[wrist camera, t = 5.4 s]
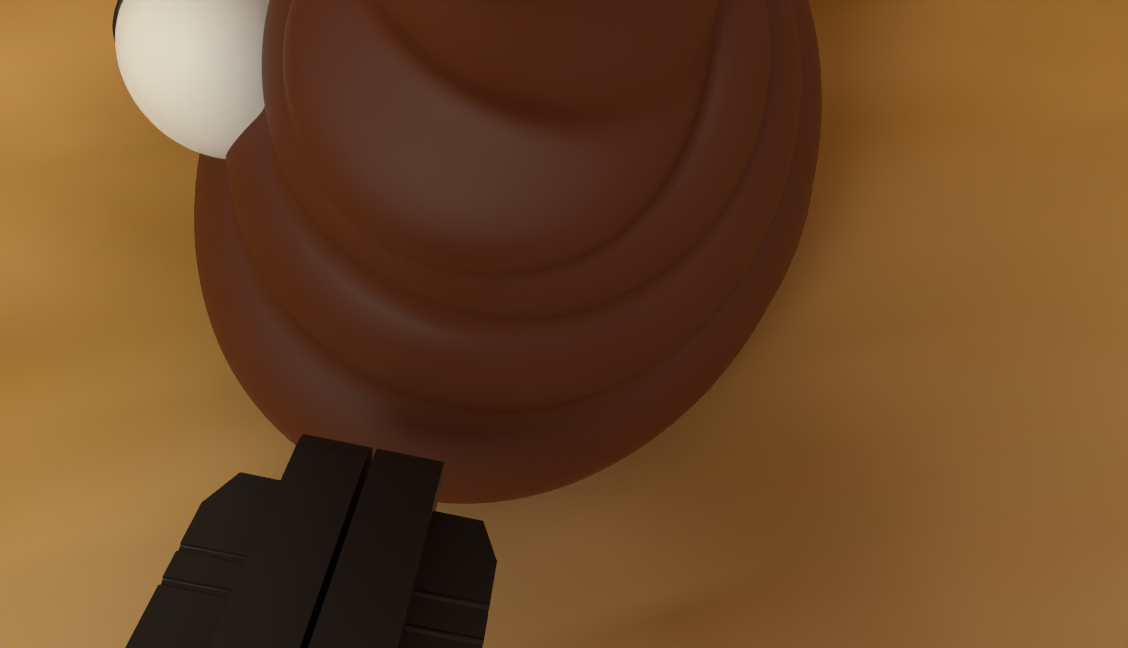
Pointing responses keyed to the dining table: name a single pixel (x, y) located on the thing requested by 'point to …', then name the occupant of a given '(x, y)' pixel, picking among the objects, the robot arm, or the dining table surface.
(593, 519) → the dining table surface
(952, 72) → the dining table surface
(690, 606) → the dining table surface
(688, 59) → the poop emoji
